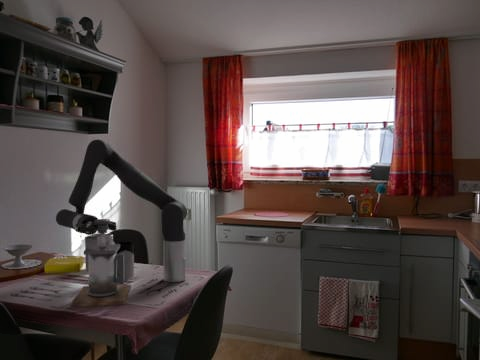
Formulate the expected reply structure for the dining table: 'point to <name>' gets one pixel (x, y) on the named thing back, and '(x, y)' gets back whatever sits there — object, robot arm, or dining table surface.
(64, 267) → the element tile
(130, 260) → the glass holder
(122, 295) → the board
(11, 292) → the dining table surface
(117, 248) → the press
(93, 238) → the coffee box
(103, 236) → the plunger
